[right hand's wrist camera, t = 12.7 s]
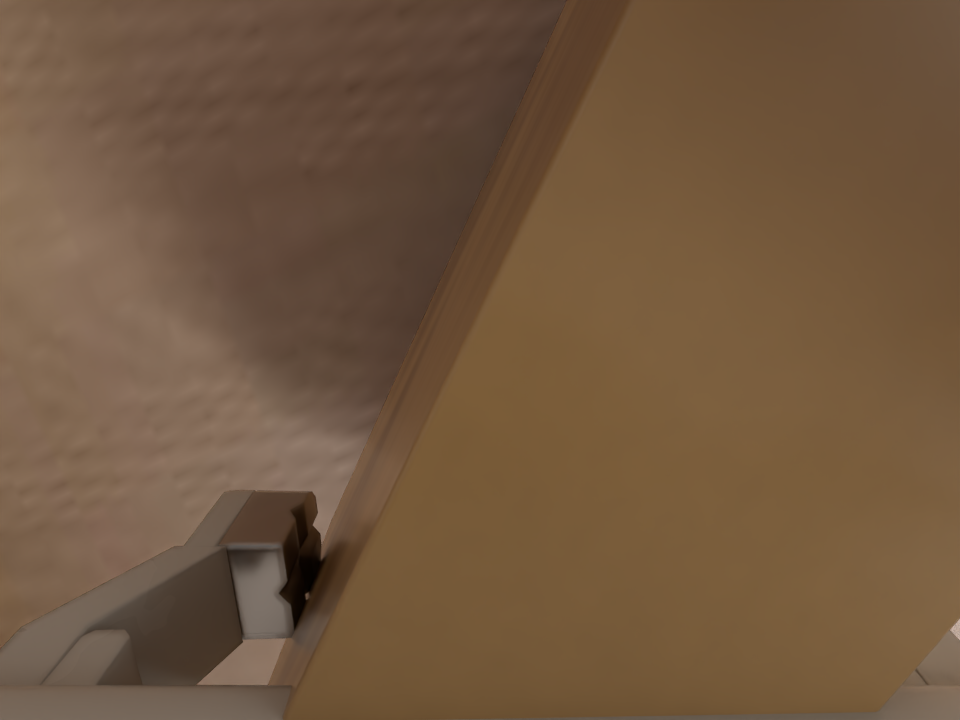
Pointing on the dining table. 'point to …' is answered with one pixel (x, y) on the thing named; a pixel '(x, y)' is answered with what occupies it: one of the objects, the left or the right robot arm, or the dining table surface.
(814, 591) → the bar
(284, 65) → the dining table surface
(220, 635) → the right robot arm
